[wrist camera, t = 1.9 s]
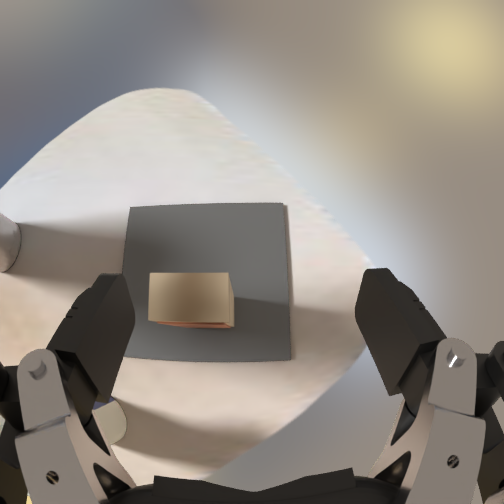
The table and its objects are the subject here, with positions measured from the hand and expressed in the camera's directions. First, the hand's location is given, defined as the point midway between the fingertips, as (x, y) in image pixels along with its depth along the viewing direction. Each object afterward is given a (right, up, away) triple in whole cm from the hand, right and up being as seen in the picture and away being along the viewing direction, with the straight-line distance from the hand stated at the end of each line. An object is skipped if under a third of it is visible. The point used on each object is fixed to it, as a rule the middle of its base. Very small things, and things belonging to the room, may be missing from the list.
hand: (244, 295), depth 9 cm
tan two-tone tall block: (-5, -6, +23) cm, 24 cm away
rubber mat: (-6, -2, +25) cm, 26 cm away
